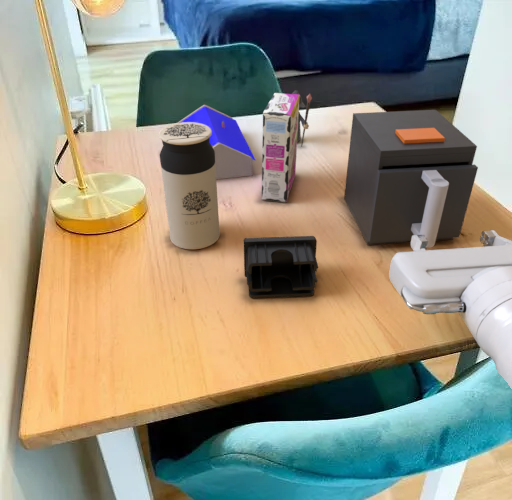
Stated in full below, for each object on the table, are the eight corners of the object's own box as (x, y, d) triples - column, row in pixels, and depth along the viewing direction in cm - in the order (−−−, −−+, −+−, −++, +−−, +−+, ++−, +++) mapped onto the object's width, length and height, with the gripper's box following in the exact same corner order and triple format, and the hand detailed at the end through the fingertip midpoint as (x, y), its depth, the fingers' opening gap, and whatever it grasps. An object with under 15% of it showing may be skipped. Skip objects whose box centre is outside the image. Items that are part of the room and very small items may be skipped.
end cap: (311, 265, 75) (313, 227, 72) (318, 296, 70) (321, 256, 66) (244, 268, 75) (243, 229, 71) (245, 299, 69) (244, 259, 65)
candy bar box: (288, 203, 91) (291, 114, 81) (260, 201, 91) (260, 112, 82) (297, 175, 100) (300, 92, 90) (272, 173, 100) (273, 91, 91)
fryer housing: (452, 239, 81) (478, 142, 71) (367, 245, 80) (381, 147, 70) (418, 194, 93) (436, 106, 83) (343, 198, 92) (353, 109, 82)
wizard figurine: (275, 141, 113) (275, 88, 106) (288, 133, 117) (290, 81, 110) (307, 150, 109) (310, 95, 102) (319, 141, 113) (323, 88, 106)
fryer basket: (473, 255, 75) (494, 183, 68) (379, 262, 74) (391, 189, 67) (424, 192, 91) (437, 128, 84) (345, 196, 90) (352, 132, 83)
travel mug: (171, 225, 85) (158, 122, 75) (218, 222, 86) (212, 120, 75) (169, 252, 78) (154, 143, 68) (220, 249, 79) (214, 141, 69)
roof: (256, 175, 100) (255, 140, 96) (185, 182, 98) (182, 146, 93) (236, 133, 118) (235, 101, 113) (176, 138, 115) (172, 106, 111)
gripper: (406, 335, 56) (370, 261, 67) (581, 321, 57) (517, 251, 69) (416, 291, 52) (377, 221, 63) (602, 278, 54) (532, 211, 65)
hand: (451, 236), depth 66 cm, fingers open, 8 cm apart
